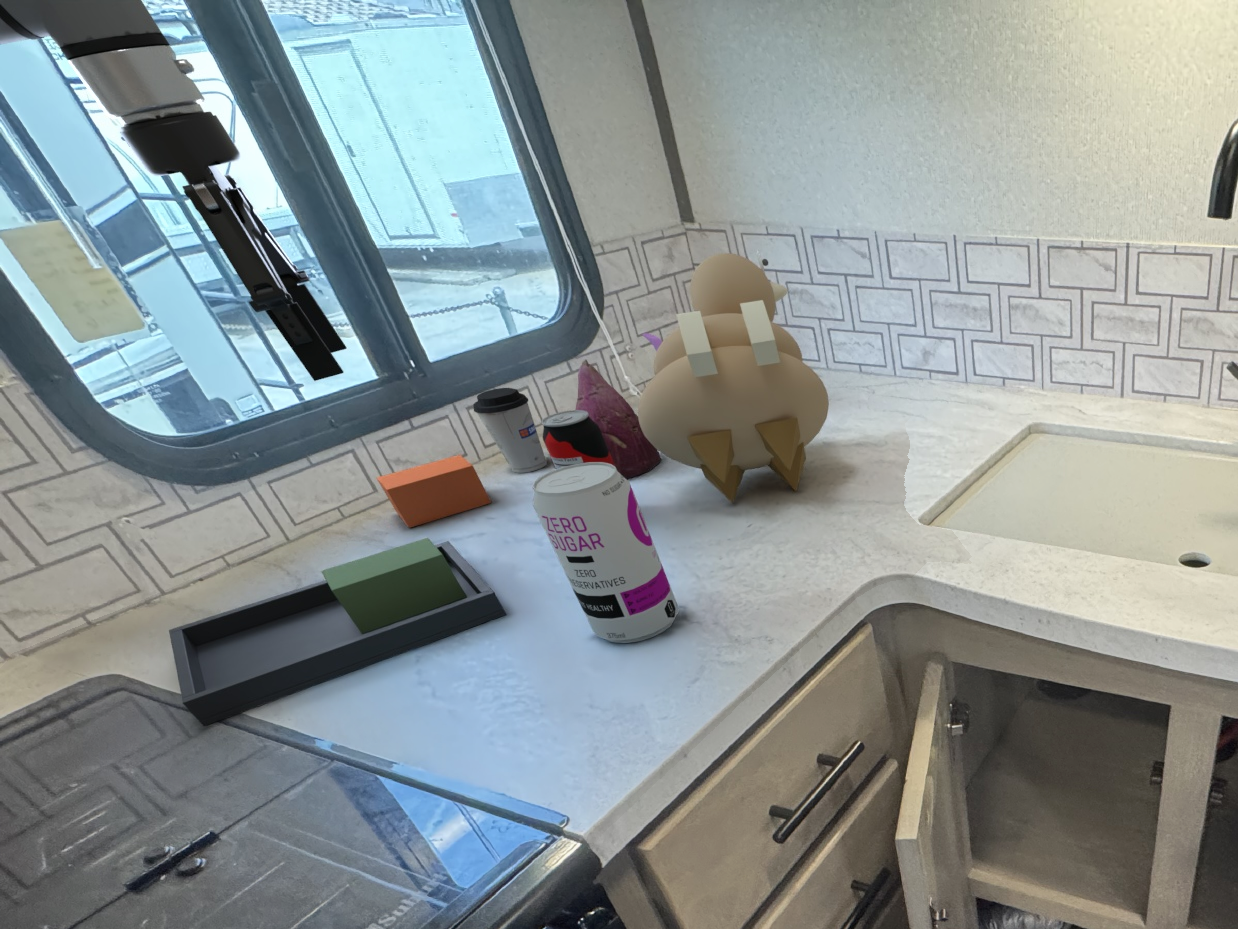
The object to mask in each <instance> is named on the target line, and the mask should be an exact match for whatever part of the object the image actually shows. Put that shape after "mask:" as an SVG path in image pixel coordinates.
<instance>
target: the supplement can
mask: <svg viewBox="0 0 1238 929" xmlns="http://www.w3.org/2000/svg"><path fill="white" fill-rule="evenodd" d="M532 490H533V500H532V507H533V510H534V512H535V514H536V516H537V518H538V519H539V522H540V524H541V526H542V528H543V530H544V532H545V534H546V536H547V539H548V541H549V543H550V545H551V546H552V549H553V551H554V553H555V555H556V557H557V559H558V561H559V564H560V566H561V568H562V569H563V572H564V574H565V576H566V578H567V580H568V582H569V584H570V586H571V588H572V590H573V593H574V594H575V597H576V598H577V601H578V603H579V604H580V608H581V609H582V612H583V613H584V616H585V618H586V619H587V622H588V624H589V626H590V629H591V630H592V632H593V633H594V634H595V636H597V637H598V638H601V639H605V640H606V641H608V642H611V643H615V644H630V643H638V642H642V641H645V640H648V639H651V638H653V637H655V636H657V635H659V634H662V633H665V631H666V630H667V629H669V628H670V627H671V626H672V625H673V623H674V622H675V620H676V617H677V616H678V614H679V612H680V611H679V605H678V603H677V599H676V597H675V594H674V592H673V590H672V587H671V584H670V582H669V579H668V576H667V574H666V572H665V570H664V566H663V564H662V561H661V559H660V557H659V554H658V551H657V549H656V546H655V543H654V541H653V539H652V536H651V533H650V531H649V528H648V526H647V524H646V521H645V518H644V516H643V513H642V511H641V507H640V506H639V503H638V501H637V497H636V495H635V493H634V491H633V488H632V485H631V483H630V481H629V480H628V479H625V478H624V477H623V476H622V475H621V474H620V473H619V472H618V471H617V469H616V467H615V466H613V465H612V464H608V463H603V462H588V463H580V464H574V465H570V466H566V467H562V468H559V469H556V468H555V469H554V470H550V471H548V472H546V473H544V474H543V475H540V476H539V477H538V478H537V479H535V480H534V481H533V482H532Z"/></svg>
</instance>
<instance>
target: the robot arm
mask: <svg viewBox="0 0 1238 929" xmlns="http://www.w3.org/2000/svg"><path fill="white" fill-rule="evenodd" d="M46 37H50V38H51V39H52V40H53V41H54V42H55V43H56V45H57V46H58V47H59V49H60V51H61V53H62V54H63V55H64V57H65V58H66V59H67V61H68V63H69V64H70V66H71V67H72V69H73V70H74V72H75V73H76V74H77V76H78V77H79V79H80V80H81V82H82V83H83V85H84V86H85V87H86V89H87V90H88V91H89V93H90V94H91V96H92V97H93V98H94V100H95V102H96V103H97V104H98V106H99V107H100V108H101V110H102V111H103V113H104V114H105V116H107V117H109V118H111V119H112V120H115V119H117V120H118V121H119V122H120V124H121V125H122V126H119V130H120V132H119V133H120V135H121V136H122V138H123V140H124V141H125V142H126V143H127V145H128V146H129V148H130V149H131V151H132V152H133V153H134V155H135V156H136V157H137V158H138V160H139V162H140V163H141V164H142V166H143V167H144V168H145V170H146V171H147V172H148V173H149V174H150V175H152V176H155V177H162V176H168V175H173V174H178V173H180V174H182V177H183V178H184V179H185V181H186V183H187V185H182V189H183V193H184V195H185V197H186V198H188V199H189V200H190V201H191V203H192V205H193V207H194V209H195V210H196V211H197V212H198V214H199V215H200V216H201V218H202V219H203V221H204V223H205V224H206V226H207V228H208V229H209V231H210V232H211V234H212V235H213V237H214V239H215V240H216V242H217V243H218V245H219V247H220V248H221V250H222V251H223V253H224V255H225V256H226V259H228V261H229V263H230V264H231V267H232V268H233V269H234V271H235V273H236V274H237V276H238V278H239V279H240V281H241V282H242V285H244V288H246V290H247V292H248V294H249V295H250V299H251V300H249V301H248V303H249V305H250V306H251V308H252V309H253V311H254V312H255V313H260V312H261V313H262V312H265V313H266V314H267V316H268V317H269V318H270V320H271V322H272V323H273V324H274V326H275V327H276V328H277V330H278V331H279V333H280V335H281V336H282V337H283V339H284V340H285V341H286V343H287V344H288V346H289V347H290V348H291V350H292V352H293V353H294V354H295V356H296V357H297V359H298V360H299V362H300V363H301V364H302V366H303V367H304V368H305V370H306V371H307V372H308V374H309V375H310V378H312V380H313V381H314V382H316V381H319V380H323V379H326V378H327V379H328V378H330V377H334V376H335V377H336V376H338V375H341V374H344V370H343V369H342V366H340V364H339V362H338V361H337V359H336V358H335V357H334V355H333V353H336V352H340V351H344V350H347V347H348V346H346V344H345V343H344V340H342V338H341V337H340V335H339V333H338V332H337V331H336V329H335V328H334V326H333V324H332V323H331V322H330V320H329V318H328V317H327V315H326V314H325V312H324V311H323V309H322V308H321V306H320V305H319V303H318V301H317V300H316V299H315V297H314V296H313V294H312V293H311V291H310V290H309V288H308V287H307V285H306V284H305V283H307V282H311V279H310V277H309V275H308V273H306V271H305V269H303V270H299V268H298V267H297V265H296V264H294V262H293V261H292V260H291V258H290V257H289V256H288V254H287V253H286V251H285V250H284V249H283V248H282V246H281V245H280V243H279V242H278V241H277V239H276V238H275V236H274V235H273V234H272V232H271V231H270V229H269V228H268V227H267V225H266V223H264V221H263V219H262V217H261V216H260V215H259V214H258V212H257V211H256V210H255V209H254V206H253V204H252V202H251V200H250V198H249V196H248V195H247V193H246V192H245V191H244V189H243V188H242V187H241V186H238V185H237V184H238V183H237V181H236V179H235V178H234V177H232V176H231V174H230V173H227V174H224V173H223V172H222V171H221V170H220V167H219V165H224V164H228V163H233V162H238V161H239V160H241V156H242V155H241V152H240V150H239V148H238V147H237V145H236V144H235V143H234V141H233V139H232V138H231V136H230V135H229V133H228V132H227V130H226V128H225V127H224V125H223V124H222V122H221V121H220V119H219V118H218V115H216V114H215V115H214V114H213V112H212V111H204V109H203V108H202V106H201V105H203V104H204V103H205V97H204V95H203V94H202V93H201V91H200V89H199V87H197V85H196V83H195V82H194V80H193V79H192V78H190V77H189V76H188V75H189V74H194V72H195V68H194V65H193V64H191V62H190V61H188V60H187V59H183V58H181V59H177V53H176V52H175V50H173V48H172V47H171V45H170V43H169V41H168V39H167V38H166V36H165V35H164V34H163V32H162V31H161V29H160V27H159V26H158V24H157V23H156V21H155V19H154V18H153V16H152V14H151V13H150V12H149V10H148V8H147V7H146V5H145V4H144V2H143V0H0V45H5V44H6V45H7V44H11V43H17V42H21V41H27V40H30V41H31V40H33V41H34V40H39V39H45V38H46Z"/></svg>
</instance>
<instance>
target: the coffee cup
mask: <svg viewBox="0 0 1238 929" xmlns="http://www.w3.org/2000/svg"><path fill="white" fill-rule="evenodd" d="M476 399H477V401H475V402H474V403H473V412H474V413H476V414H477V416H478V417H479V419H480V420H481V423H482V424H483V426H484V427H485V428H486V430H487V432H488V433H489V435H490V437H491V438H492V440H493V442H494V443H495V445H496V446H497V448H498V449H499V451H500V453H501V455H502V456H503V457H504V459H505V461H506V462H507V464H508V466H509V467H510V468H511V470H512V472H514V473H518V474H520V473H523V474H524V473H530V472H534V471H535V472H536V471H537V470H540V469H542V468H545V467H546V466H547V464H548V462H547V459H546V456H545V453H544V449H543V447H542V446H543V445H542V444H541V441H540V438H539V434H538V431H537V427H536V424H535V422H534V419H533V414H532V411H531V410H530V406H529V403H528V402H529V398H528V397H527V396H526V395H525V394H523V393H521V392H519V390H518V389H516V388H512V387H499V388H494V389H489V390H485V391H483V392H481V393H479V394H478V395H477V396H476Z"/></svg>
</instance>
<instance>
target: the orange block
mask: <svg viewBox="0 0 1238 929" xmlns="http://www.w3.org/2000/svg"><path fill="white" fill-rule="evenodd" d="M376 480H377V482H378V483H379V485H380V487H381V488H382V490H383V492H384V493H385V495H386V497H387V499H388V501H389V502H390V503H391V506H392V507H393V509H394V510H395V512H396V515H398V517H400V519H401V520H402V521H403V523H404V524H405V525H406V526H407V527H408V528H409V529H411V528H414V527H416V526H417V527H418V526H420V525H421V526H422V525H424V524H427V523H430V522H434V521H437V520H440V519H443V518H446V517H450V516H453V515H457V514H459V513H463V512H466V511H470V510H473V509H477V508H479V507H482V506H486V505H489V504H492V501H491V498H490V496H489V494H488V492H487V490H486V488H485V486H484V485H483V483H482V481H481V479H480V477H479V475H478V472H476V469H475V467H474V465H473V464H471V463H470V461H468V460H467V459H466V458H465V457H464V456H462V455H461V454H458V455H453V456H450V457H446V458H443V459H439V460H436V461H435V460H434V461H432V462H428V463H425V464H421V465H418V466H414V467H410V468H407V469H402V470H399V471H396V472H391V473H388V474H385V475H381V476H377V477H376Z"/></svg>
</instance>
